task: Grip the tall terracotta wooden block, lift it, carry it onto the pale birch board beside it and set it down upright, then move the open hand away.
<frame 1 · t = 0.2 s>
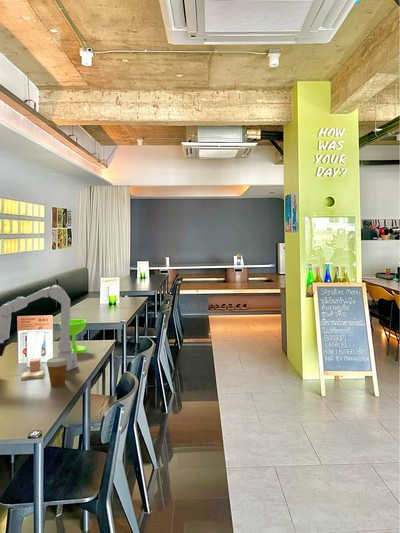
hand: (0, 353, 205), 11 cm above the table, tool pointing down, fingers open, 7 cm apart
wineglass: (73, 350, 249), on the table
disposable coffee cup: (58, 385, 189), on the table
birch board: (33, 376, 201), on the table
terracotta block: (35, 371, 210), on the table
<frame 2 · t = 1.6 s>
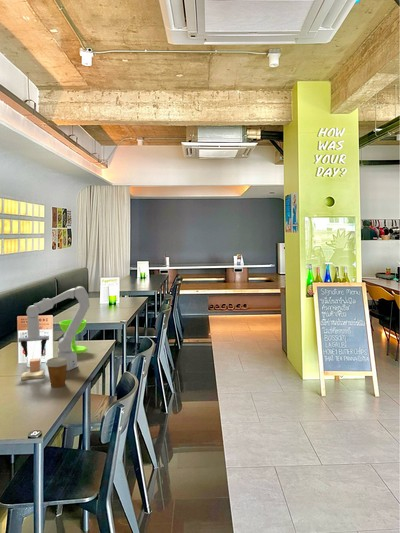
hand: (34, 354, 209), 9 cm above the table, tool pointing down, fingers open, 7 cm apart
nothing on the table moved.
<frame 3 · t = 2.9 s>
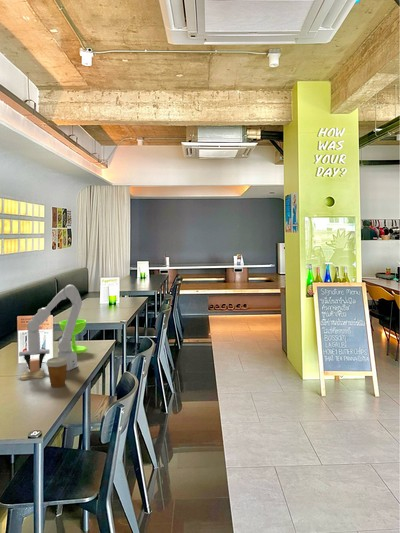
hand: (35, 368, 210), 1 cm above the table, tool pointing down, fingers closed on terracotta block, 4 cm apart
terracotta block: (35, 371, 210), on the table, touching gripper
everything else where it was.
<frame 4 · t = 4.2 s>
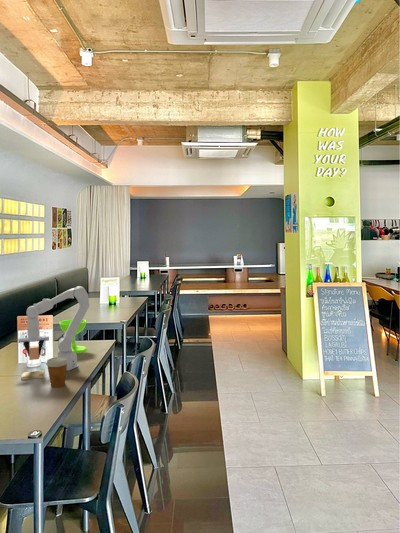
hand: (34, 355, 209), 8 cm above the table, tool pointing down, fingers closed on terracotta block, 4 cm apart
terracotta block: (34, 358, 209), point 7 cm above the table, touching gripper
everything else where it was.
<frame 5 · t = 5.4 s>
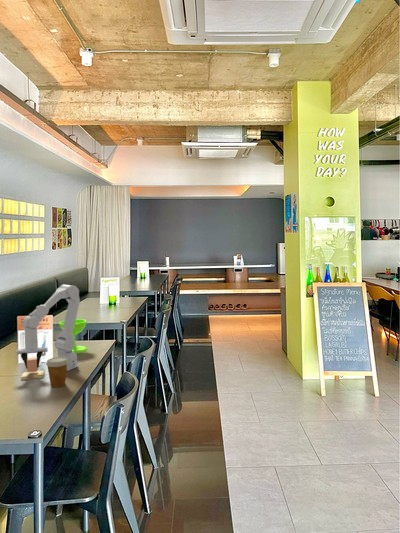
hand: (32, 367, 201), 5 cm above the table, tool pointing down, fingers closed on terracotta block, 4 cm apart
terracotta block: (32, 370, 201), point 3 cm above the table, touching gripper
everything else where it was.
when the fingers open (4 cm above the table, at t = 6.0 s): terracotta block stays where it is, resting on birch board.
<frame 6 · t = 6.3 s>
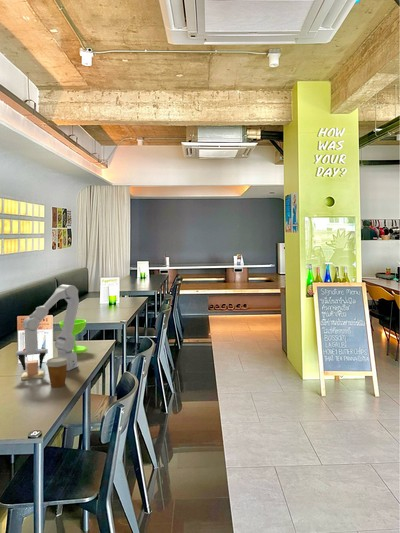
hand: (32, 368, 201), 4 cm above the table, tool pointing down, fingers open, 7 cm apart
terracotta block: (32, 373, 201), point 1 cm above the table, touching birch board
everything else where it was.
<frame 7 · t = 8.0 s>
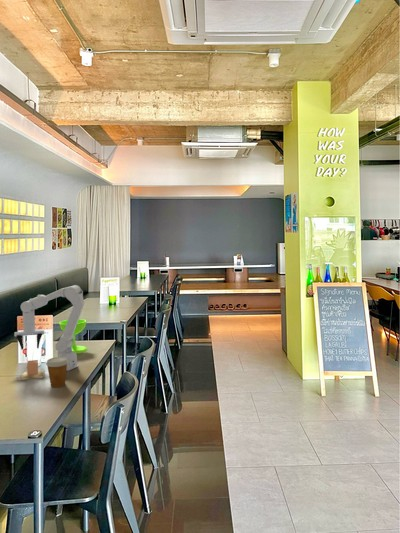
hand: (30, 348, 215), 10 cm above the table, tool pointing down, fingers open, 7 cm apart
nothing on the table moved.
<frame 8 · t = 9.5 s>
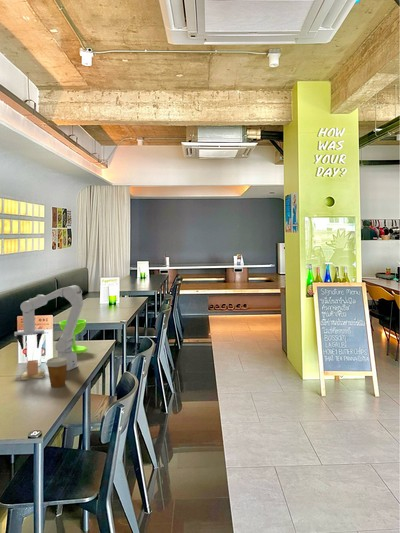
hand: (30, 348, 215), 10 cm above the table, tool pointing down, fingers open, 7 cm apart
nothing on the table moved.
at the end: terracotta block 0.3 cm off-centre on the birch board, point 1.5 cm above the birch board's base; terracotta block tilted 0°; the gripper is holding nothing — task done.
